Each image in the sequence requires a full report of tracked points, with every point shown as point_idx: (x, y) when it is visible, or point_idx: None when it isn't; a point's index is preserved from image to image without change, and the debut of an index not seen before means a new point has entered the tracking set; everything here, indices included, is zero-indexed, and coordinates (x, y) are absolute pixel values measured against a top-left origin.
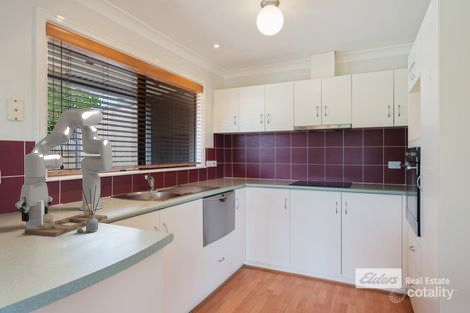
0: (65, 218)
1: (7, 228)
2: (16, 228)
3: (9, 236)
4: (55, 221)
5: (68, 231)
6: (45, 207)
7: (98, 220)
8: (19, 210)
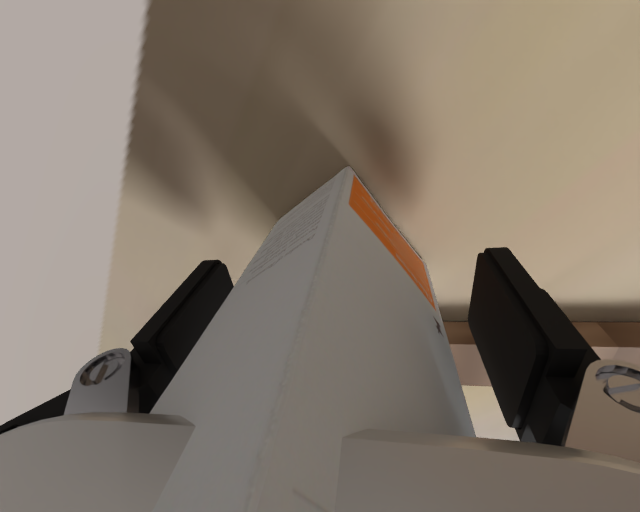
0: (614, 353)
1: (178, 3)
2: (236, 121)
3: (131, 297)
4: (469, 353)
5: None
6: (540, 440)
7: None
8: (52, 411)
